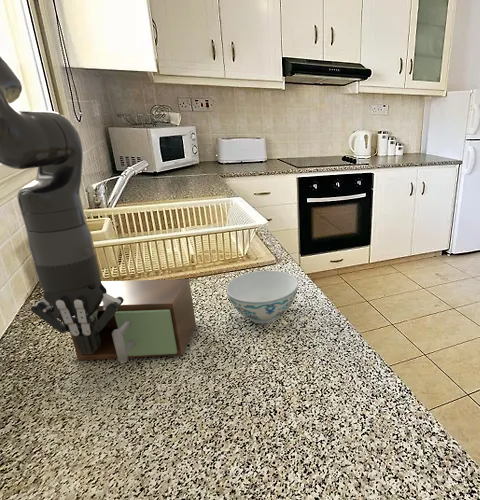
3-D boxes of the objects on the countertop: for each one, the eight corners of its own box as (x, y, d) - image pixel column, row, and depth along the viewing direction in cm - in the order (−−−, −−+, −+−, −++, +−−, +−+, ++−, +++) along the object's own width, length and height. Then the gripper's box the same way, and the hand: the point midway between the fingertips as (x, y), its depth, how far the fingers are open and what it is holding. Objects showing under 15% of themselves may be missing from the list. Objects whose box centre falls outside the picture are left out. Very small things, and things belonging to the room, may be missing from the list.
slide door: (111, 374, 63) (99, 328, 60) (126, 354, 68) (115, 311, 65) (167, 371, 64) (158, 326, 61) (177, 351, 69) (169, 309, 66)
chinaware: (218, 313, 84) (214, 282, 81) (276, 293, 93) (274, 265, 90) (250, 343, 73) (247, 309, 70) (312, 317, 82) (311, 286, 80)
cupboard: (78, 360, 68) (62, 307, 64) (105, 329, 77) (93, 281, 73) (181, 355, 69) (172, 303, 66) (196, 325, 79) (189, 278, 75)
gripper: (123, 244, 60) (142, 336, 66) (33, 245, 58) (61, 339, 64) (99, 263, 53) (123, 363, 59) (-4, 264, 51) (32, 367, 58)
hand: (91, 350), depth 62 cm, fingers closed
